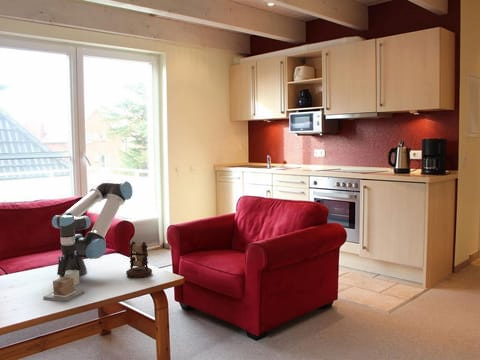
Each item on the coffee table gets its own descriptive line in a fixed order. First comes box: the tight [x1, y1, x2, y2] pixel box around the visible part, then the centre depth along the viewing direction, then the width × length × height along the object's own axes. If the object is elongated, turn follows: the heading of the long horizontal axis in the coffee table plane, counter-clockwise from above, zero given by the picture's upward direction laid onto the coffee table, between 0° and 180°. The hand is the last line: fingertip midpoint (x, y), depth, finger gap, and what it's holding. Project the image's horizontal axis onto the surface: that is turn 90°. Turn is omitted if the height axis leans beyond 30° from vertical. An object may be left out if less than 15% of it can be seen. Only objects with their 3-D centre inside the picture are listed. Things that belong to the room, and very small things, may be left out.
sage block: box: [59, 270, 80, 286], centre depth 258 cm, size 7×7×7 cm
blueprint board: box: [42, 288, 85, 303], centre depth 239 cm, size 14×14×2 cm
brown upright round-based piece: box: [125, 240, 153, 279], centre depth 273 cm, size 15×15×20 cm
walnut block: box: [52, 277, 75, 296], centre depth 238 cm, size 7×7×7 cm
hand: (70, 283), depth 258 cm, fingers open, 9 cm apart
